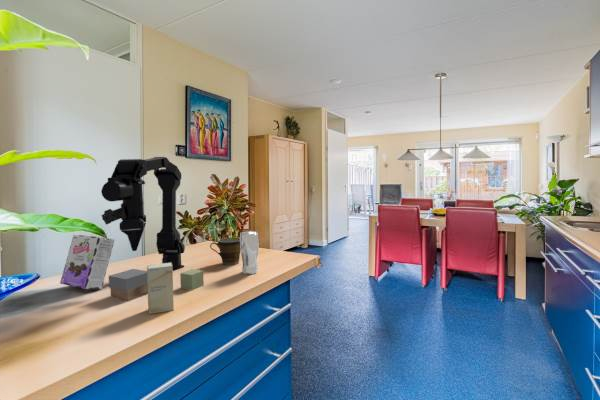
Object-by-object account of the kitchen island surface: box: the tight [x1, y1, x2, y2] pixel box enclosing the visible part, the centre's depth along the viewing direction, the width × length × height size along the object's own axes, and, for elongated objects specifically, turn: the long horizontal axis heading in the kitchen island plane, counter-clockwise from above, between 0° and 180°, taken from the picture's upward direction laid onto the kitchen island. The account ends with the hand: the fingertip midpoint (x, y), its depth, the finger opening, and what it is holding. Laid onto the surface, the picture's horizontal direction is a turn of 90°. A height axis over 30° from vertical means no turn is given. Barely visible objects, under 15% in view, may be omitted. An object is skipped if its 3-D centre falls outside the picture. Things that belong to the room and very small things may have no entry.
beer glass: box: [239, 230, 260, 275], centre depth 116 cm, size 7×7×15 cm
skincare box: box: [146, 262, 175, 315], centre depth 83 cm, size 6×4×12 cm
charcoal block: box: [108, 268, 148, 291], centre depth 95 cm, size 8×8×4 cm
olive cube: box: [179, 268, 205, 291], centre depth 101 cm, size 5×5×5 cm
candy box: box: [59, 234, 115, 290], centre depth 103 cm, size 14×6×16 cm, turn 65°
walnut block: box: [109, 284, 148, 302], centre depth 95 cm, size 8×8×4 cm
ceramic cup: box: [209, 237, 241, 266], centre depth 129 cm, size 13×10×10 cm
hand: (135, 247), depth 99 cm, fingers open, 9 cm apart
